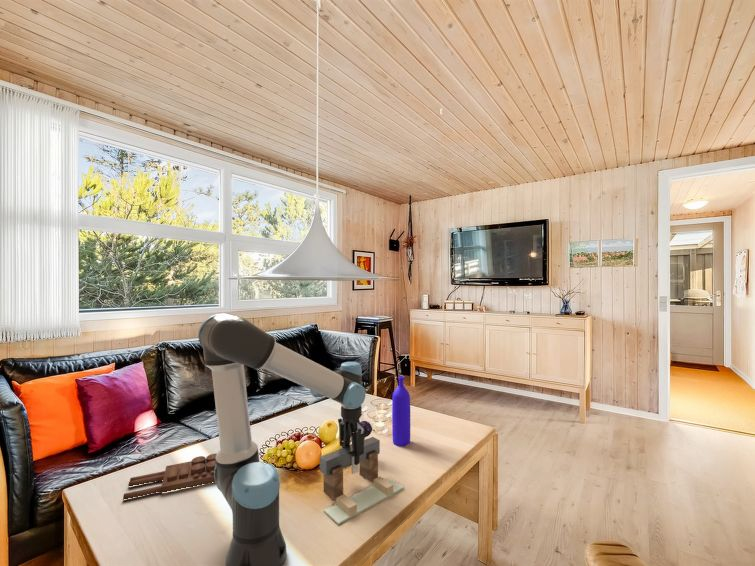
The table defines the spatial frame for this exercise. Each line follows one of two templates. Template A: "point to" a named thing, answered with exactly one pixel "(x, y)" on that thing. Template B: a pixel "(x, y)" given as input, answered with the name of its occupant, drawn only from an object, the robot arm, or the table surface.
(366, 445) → the rail
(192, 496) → the table surface
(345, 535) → the table surface
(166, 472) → the miniature factory model
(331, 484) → the rack
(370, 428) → the lollipop
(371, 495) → the board
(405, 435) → the bottle
